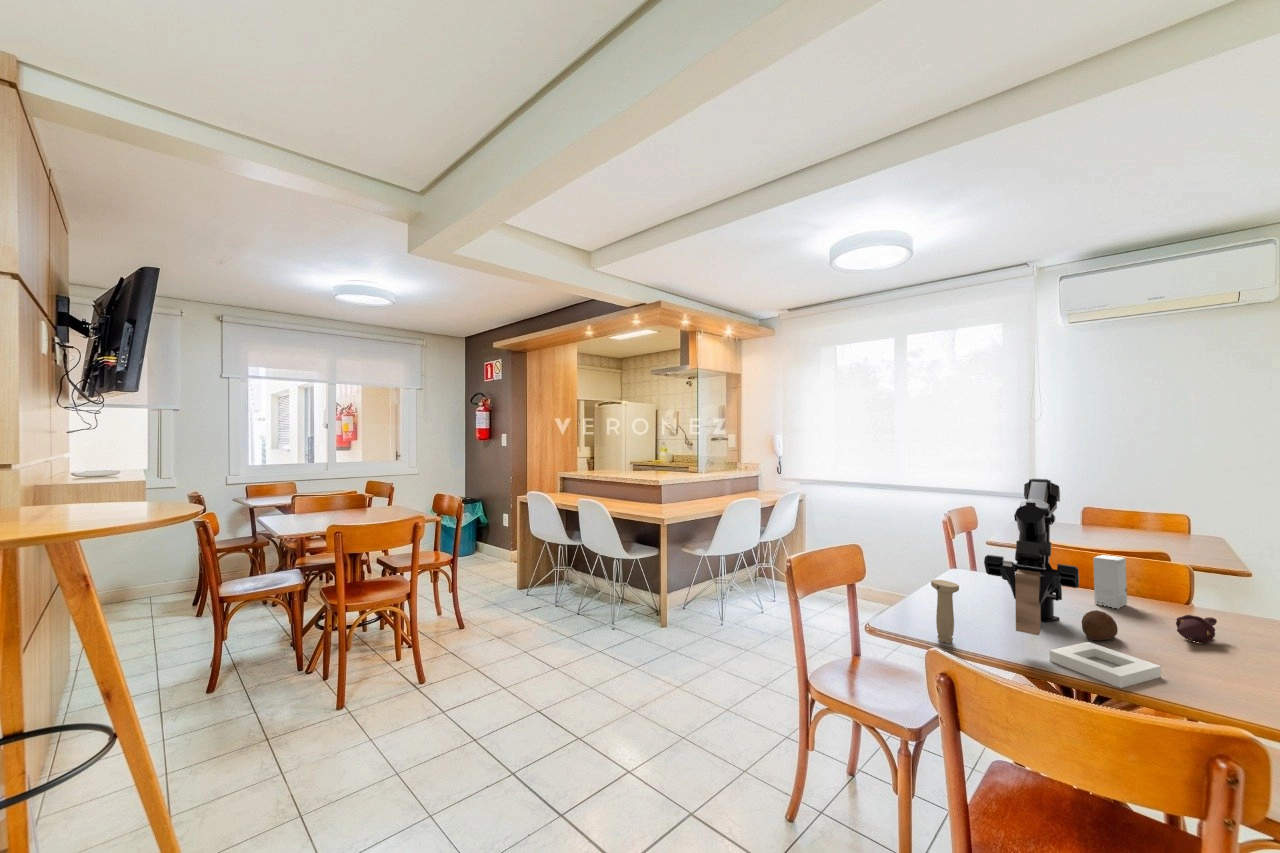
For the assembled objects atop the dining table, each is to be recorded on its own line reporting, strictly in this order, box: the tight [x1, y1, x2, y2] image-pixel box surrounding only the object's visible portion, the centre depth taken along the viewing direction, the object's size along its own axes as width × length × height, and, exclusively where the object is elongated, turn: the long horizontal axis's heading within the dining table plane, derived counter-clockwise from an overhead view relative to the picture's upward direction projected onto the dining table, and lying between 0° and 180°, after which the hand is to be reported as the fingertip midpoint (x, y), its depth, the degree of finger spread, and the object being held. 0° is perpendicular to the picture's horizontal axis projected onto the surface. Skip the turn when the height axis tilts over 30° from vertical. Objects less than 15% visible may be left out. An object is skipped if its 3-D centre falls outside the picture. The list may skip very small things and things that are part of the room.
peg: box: [1015, 569, 1042, 636], centre depth 128 cm, size 4×4×14 cm
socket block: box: [1049, 641, 1162, 689], centre depth 120 cm, size 14×14×2 cm
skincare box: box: [1093, 554, 1128, 610], centre depth 164 cm, size 8×6×15 cm
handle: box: [930, 579, 960, 644], centre depth 136 cm, size 5×6×15 cm
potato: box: [1081, 609, 1119, 641], centre depth 138 cm, size 7×10×7 cm
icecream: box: [1175, 614, 1218, 645], centre depth 135 cm, size 7×7×15 cm
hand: (1027, 600), depth 127 cm, fingers closed on peg, 4 cm apart
